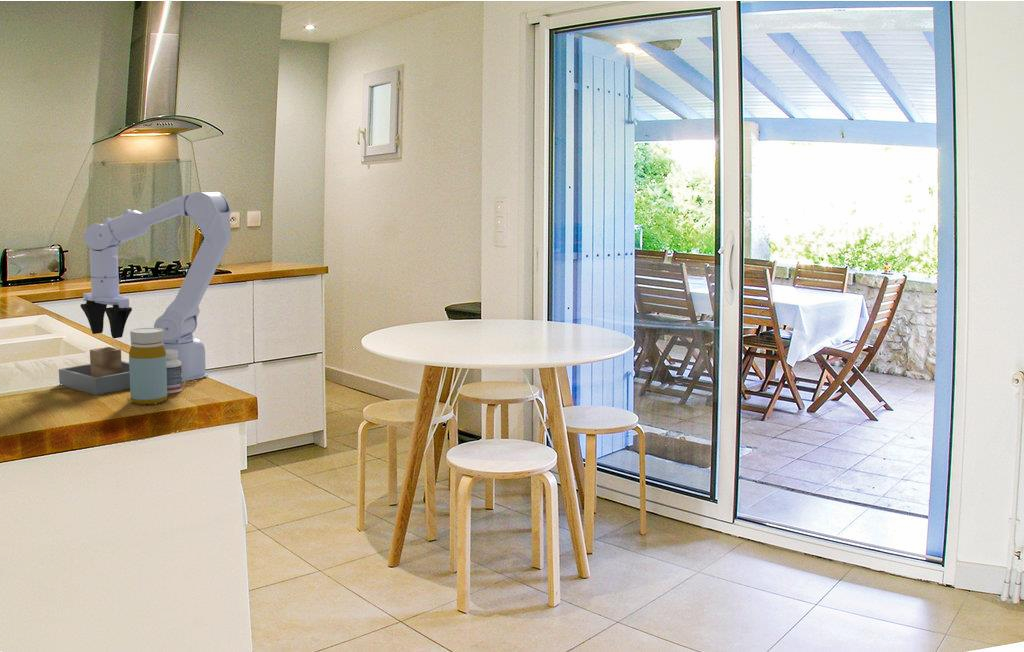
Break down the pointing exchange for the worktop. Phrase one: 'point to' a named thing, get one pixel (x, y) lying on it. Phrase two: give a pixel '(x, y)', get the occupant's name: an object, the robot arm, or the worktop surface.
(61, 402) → the worktop surface
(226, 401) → the worktop surface
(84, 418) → the worktop surface
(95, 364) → the walnut block
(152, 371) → the bottle
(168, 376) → the pill bottle
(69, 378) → the bin
